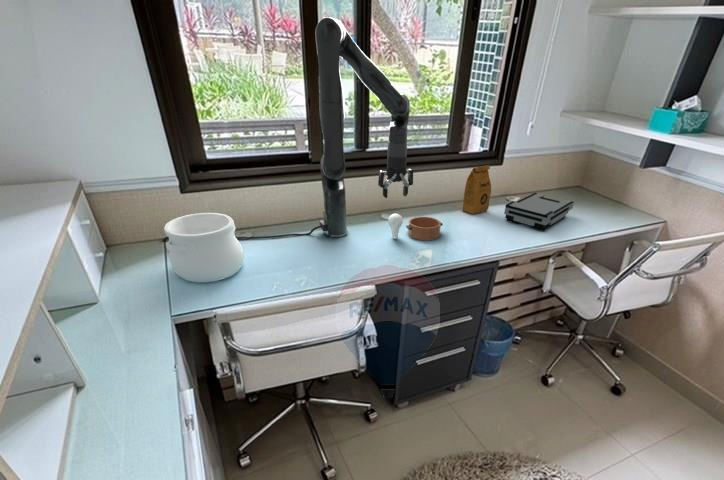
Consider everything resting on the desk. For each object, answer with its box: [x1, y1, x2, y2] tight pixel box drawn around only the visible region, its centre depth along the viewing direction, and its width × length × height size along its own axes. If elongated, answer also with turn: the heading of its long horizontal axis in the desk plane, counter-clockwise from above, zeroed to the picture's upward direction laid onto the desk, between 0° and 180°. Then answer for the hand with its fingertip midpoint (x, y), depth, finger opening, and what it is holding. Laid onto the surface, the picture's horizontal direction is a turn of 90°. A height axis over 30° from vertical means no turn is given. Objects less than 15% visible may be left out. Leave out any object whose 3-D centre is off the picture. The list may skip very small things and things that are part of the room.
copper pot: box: [405, 216, 444, 241], centre depth 179 cm, size 16×14×6 cm
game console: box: [503, 192, 575, 232], centre depth 197 cm, size 21×32×8 cm, turn 138°
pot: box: [163, 212, 245, 283], centre depth 143 cm, size 26×24×18 cm
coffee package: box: [461, 164, 492, 215], centre depth 200 cm, size 10×12×22 cm
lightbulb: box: [388, 213, 404, 240], centre depth 172 cm, size 6×6×11 cm
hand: (395, 196), depth 165 cm, fingers open, 8 cm apart
